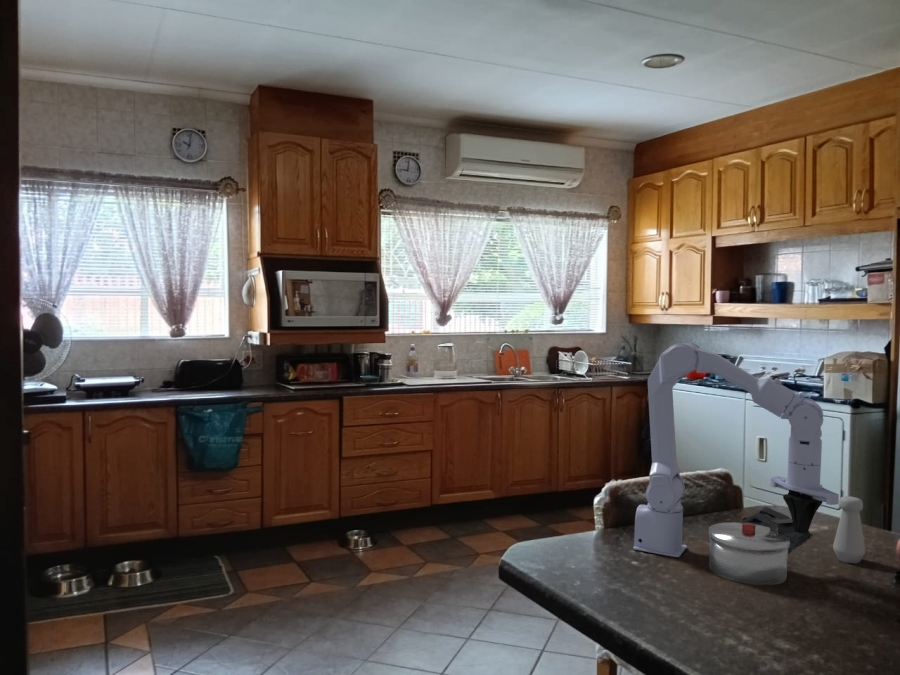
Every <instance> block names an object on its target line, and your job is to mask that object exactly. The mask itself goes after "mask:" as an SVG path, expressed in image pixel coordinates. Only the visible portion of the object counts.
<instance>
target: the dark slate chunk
mask: <svg viewBox="0 0 900 675" xmlns="http://www.w3.org/2000/svg"><path fill="white" fill-rule="evenodd" d="M781 519H792V517H791V518H790V516H787V515H786V514H784V513H782V512H778V511H776V510H774V509H772V508H771V507H767V506H765V507H763V508H762V509H761V510H760V509H759V511H758V512H756V513H754V514H753V515H751V516H750V515H749V516H747V517H743V518H741V519H740V520H739V521H738V522H737V523H752V524H755V525H760V526H765V527H769V528H770V520H781ZM784 534H786V535H787V536H788V537H789V538H790V547H789V548H788V554H791V553H792V551H793V550H795V549H796V548H797V547H799V546H800V545H801V544H802V543H803V542H805V540H806V539H807V538H809V537H810V536H811V535H812V534H811V532H810V531H808V533H798V532H792V533H784Z"/></svg>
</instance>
